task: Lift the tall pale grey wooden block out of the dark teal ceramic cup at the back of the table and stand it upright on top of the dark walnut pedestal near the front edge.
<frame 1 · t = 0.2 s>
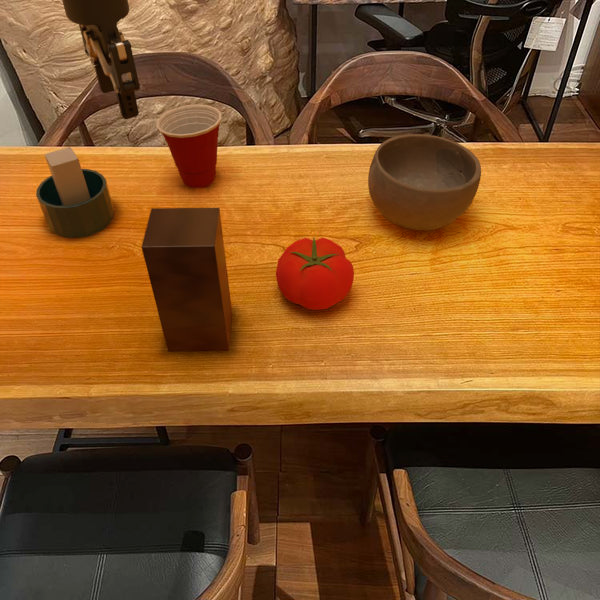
hand: (119, 103, 80), 21 cm above the table, tool pointing down, fingers open, 8 cm apart
plastic cup: (198, 180, 104), on the table
block: (80, 214, 96), point 1 cm above the table, touching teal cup
bowl: (416, 212, 98), on the table
tomato: (314, 293, 84), on the table
pedestal: (200, 331, 79), on the table
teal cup: (81, 217, 96), on the table
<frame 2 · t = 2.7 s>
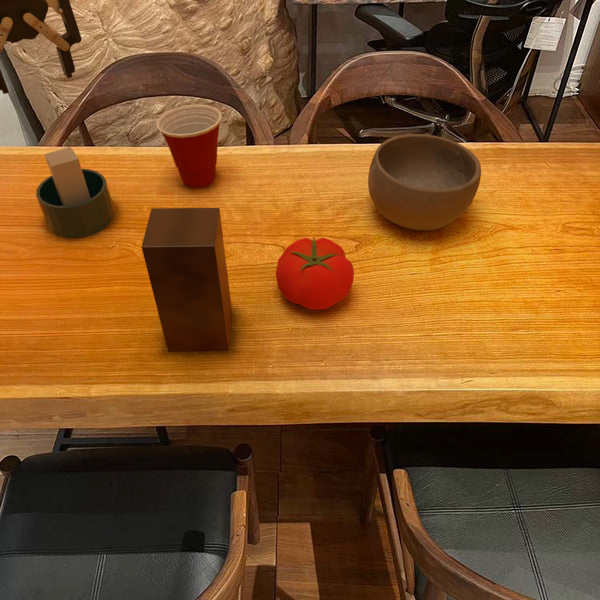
hand: (37, 83, 80), 23 cm above the table, tool pointing down, fingers open, 8 cm apart
nothing on the table moved.
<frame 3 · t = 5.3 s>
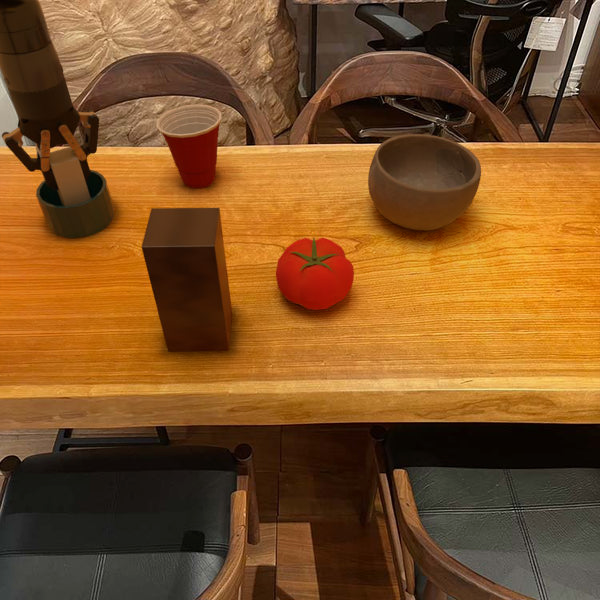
hand: (69, 182, 92), 7 cm above the table, tool pointing down, fingers closed on block, 4 cm apart
block: (80, 214, 96), point 1 cm above the table, touching gripper, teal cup
everything else where it was.
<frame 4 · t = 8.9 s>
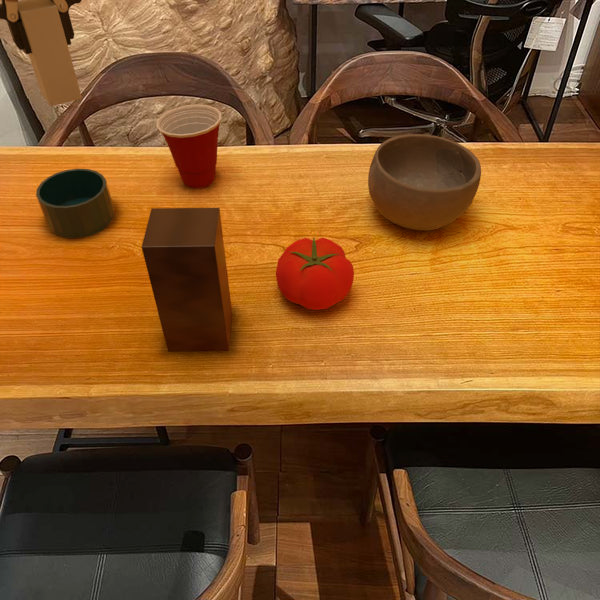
hand: (46, 46, 70), 31 cm above the table, tool pointing down, fingers closed on block, 4 cm apart
block: (61, 96, 74), point 24 cm above the table, touching gripper
everything else where it was.
when the fingers open (24 cm above the table, at t = 12.5 s): block stays where it is, resting on pedestal.
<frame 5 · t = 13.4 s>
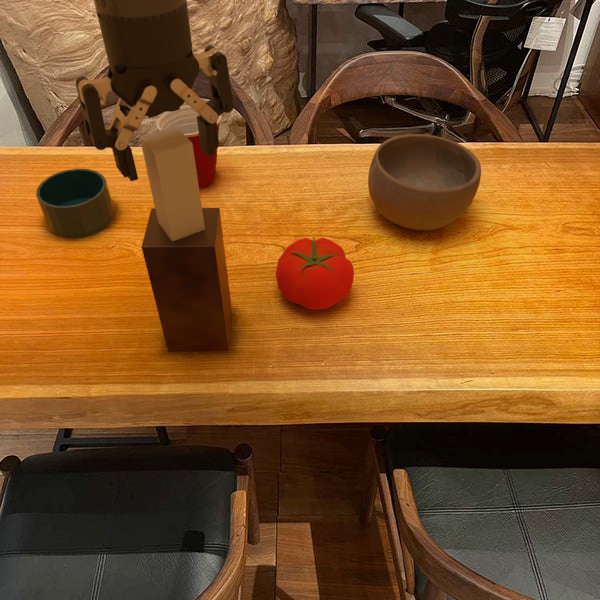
hand: (170, 164, 60), 26 cm above the table, tool pointing down, fingers open, 8 cm apart
block: (181, 226, 66), point 18 cm above the table, touching pedestal
everything else where it was.
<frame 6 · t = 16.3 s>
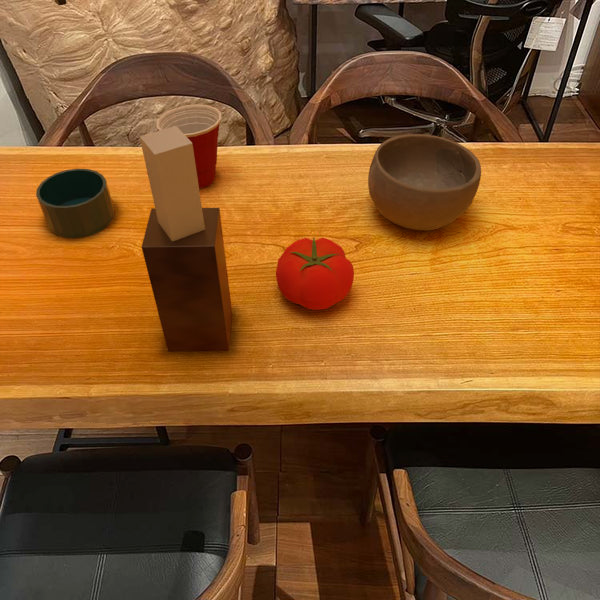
hand: (12, 12, 52), 40 cm above the table, tool pointing down, fingers open, 8 cm apart
nothing on the table moved.
at the end: block 0.0 cm off-centre on the pedestal, point 18.0 cm above the pedestal's base; block tilted 0°; block touching pedestal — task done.
